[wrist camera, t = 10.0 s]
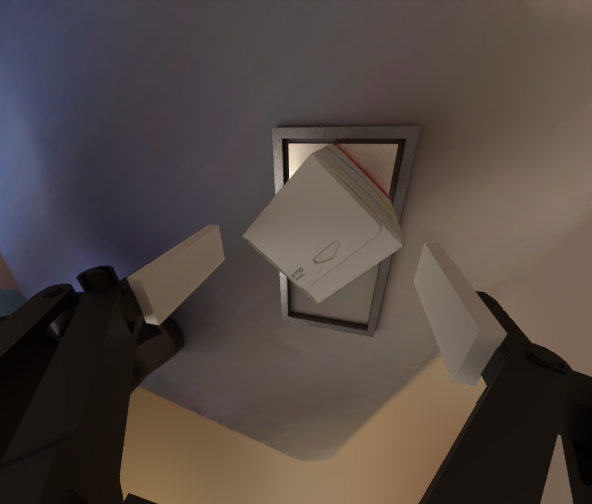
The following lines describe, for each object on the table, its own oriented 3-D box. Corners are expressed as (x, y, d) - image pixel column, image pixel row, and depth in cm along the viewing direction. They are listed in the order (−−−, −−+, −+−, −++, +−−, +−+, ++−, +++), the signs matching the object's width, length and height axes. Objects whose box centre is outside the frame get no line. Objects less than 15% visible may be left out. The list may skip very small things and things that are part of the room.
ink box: (333, 138, 23) (312, 146, 13) (390, 196, 24) (412, 246, 14) (282, 198, 27) (237, 239, 17) (333, 245, 28) (318, 309, 18)
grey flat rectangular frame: (283, 315, 37) (282, 320, 36) (275, 127, 24) (271, 127, 23) (373, 331, 34) (373, 337, 33) (418, 126, 21) (421, 125, 20)
